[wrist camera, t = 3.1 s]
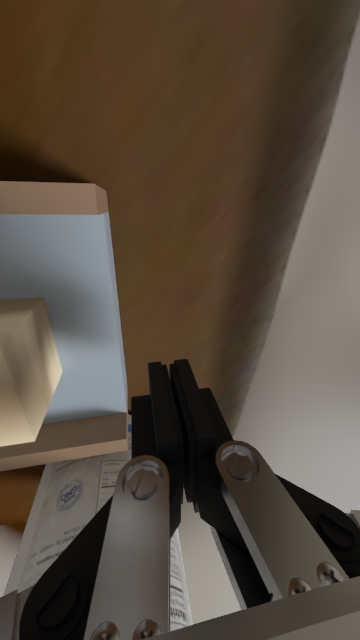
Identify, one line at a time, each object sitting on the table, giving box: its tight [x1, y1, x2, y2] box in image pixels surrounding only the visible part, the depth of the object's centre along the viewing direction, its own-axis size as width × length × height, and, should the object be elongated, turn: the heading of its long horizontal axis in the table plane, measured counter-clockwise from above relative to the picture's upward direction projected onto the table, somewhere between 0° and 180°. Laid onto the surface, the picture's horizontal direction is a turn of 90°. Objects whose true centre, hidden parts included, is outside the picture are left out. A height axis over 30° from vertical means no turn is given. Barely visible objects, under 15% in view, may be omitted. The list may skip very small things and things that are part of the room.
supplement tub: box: [4, 414, 193, 631], centre depth 15 cm, size 10×10×15 cm
